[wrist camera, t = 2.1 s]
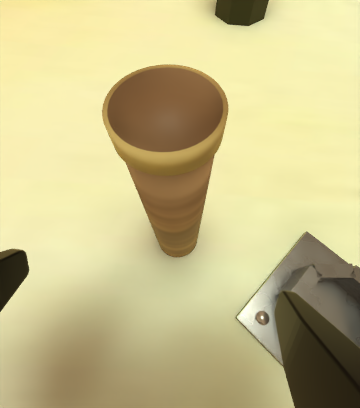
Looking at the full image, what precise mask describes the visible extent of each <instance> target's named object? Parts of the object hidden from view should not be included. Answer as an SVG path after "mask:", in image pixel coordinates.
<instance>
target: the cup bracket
mask: <svg viewBox="0 0 360 408" xmlns="http://www.w3.org/2000/svg"><path fill="white" fill-rule="evenodd" d="M283 290H285V291H292V292H295V293H297V294H298V295H299V296H300V297H301V298H303V299H304V300H305V301H306V302H307V303H308V304H310V305H311V306H312V307H313V308H314V309H315V310H317V311H318V312H319V313H320V314H321V315H322V316H324V317H325V318H326V319H327V320H328V321H329V322H330V323H332V324H333V325H334V326H335V327H336V328H337V329H339V330H340V331H341V332H342V333H343V334H344V335H346V336H347V337H348V338H349V339H350V340H351V341H353V342H354V343H355V344H356V345H357V346H358V347H360V268H359V267H358V266H357V265H356V266H352V264H348V263H347V262H346V261H344V260H343V259H342V258H340V257H339V256H338V255H337V254H335V253H334V252H333V251H331V250H330V249H329V248H328V247H326V246H325V245H324V244H322V243H321V242H320V241H319V240H317V239H316V238H315V237H313V236H312V235H311V234H310V233H308V232H305V233H304V234H303V235H302V237H301V238H300V239H299V240H298V242H297V243H296V244H295V245H294V246H293V248H292V249H291V250H290V251H289V253H288V254H287V255H286V256H285V257H284V259H283V260H282V261H281V262H280V264H279V265H278V266H277V267H276V269H275V270H274V271H273V272H272V273H271V275H270V276H269V277H268V278H267V280H266V281H265V282H264V283H263V284H262V286H261V287H260V288H259V289H258V291H257V292H256V293H255V294H254V296H253V297H252V298H251V299H250V300H249V302H248V303H247V304H246V305H245V307H244V308H243V309H242V310H241V311H240V313H239V314H238V315H237V316H236V318H237V319H238V320H239V321H240V322H241V323H242V324H243V325H244V326H245V327H246V328H247V329H248V331H249V332H250V333H251V334H252V335H253V336H254V337H255V338H256V339H257V340H258V341H259V342H260V343H261V344H262V345H263V346H264V347H265V348H266V349H267V350H268V351H269V352H270V353H271V354H272V355H273V356H274V357H275V358H276V359H277V360H278V361H279V362H280V363H281V364H282V366H283V361H282V356H281V350H280V344H279V339H278V333H277V327H276V322H275V316H274V311H275V307H276V304H277V300H278V297H279V294H280V292H281V291H283ZM283 367H284V366H283Z"/></svg>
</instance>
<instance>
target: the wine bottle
mask: <svg viewBox="0 0 360 408" xmlns="http://www.w3.org/2000/svg"><path fill="white" fill-rule="evenodd" d="M268 1H269V0H217V3H216V12H215V15H216V16H217V17H219V18H220V19H221V20H223V21H224V22H226V23H227V24H233V25H246V26H249V25H251V24H253V23H255V22H258V21H260V20H262V19H264V15H265V12H266V8H267V5H268Z"/></svg>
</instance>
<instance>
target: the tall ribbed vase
mask: <svg viewBox="0 0 360 408" xmlns="http://www.w3.org/2000/svg"><path fill="white" fill-rule="evenodd" d="M227 115H228V102H227V98H226V95H225V93H224V91H223V90H222V88H221V87H220V86H219V84H218V83H217V82H216V81H215V80H214V79H212V78H211V77H210V76H208V75H206V74H205V73H203V72H201V71H198V70H196V69H193V68H190V67H186V66H180V65H156V66H150V67H146V68H143V69H140V70H137V71H135V72H132V73H131V74H129V75H127V76H125V77H124V78H122V79H121V80H120V81H119V82H117V83H116V84H115V85H114V86H113V87H112V89H111V90H110V91H109V93H108V94H107V96H106V98H105V101H104V104H103V110H102V116H103V121H104V125H105V127H106V129H107V132H108V134H109V136H110V138H111V141H112V143H113V145H114V147H115V150H116V152H117V153H118V155H119V156H120V157H121V158H122V159H123V161H125V162H126V165H127V167H128V170H129V172H130V174H131V177H132V179H133V182H134V184H135V186H136V189H137V191H138V194H139V196H140V199H141V201H142V203H143V206H144V208H145V211H146V213H147V216H148V218H149V220H150V223H151V225H152V228H153V230H154V232H155V235H156V237H157V240H158V242H159V245H160V247H161V248H162V250H163V251H164V252H165V253H166V254H168V255H170V256H173V257H182V256H185V255H187V254H189V253H190V252H191V251H192V250H193V249H194V247H195V245H196V243H197V238H198V233H199V228H200V223H201V218H202V213H203V208H204V203H205V199H206V194H207V189H208V184H209V179H210V174H211V169H212V164H213V159H214V154H215V153H216V152H217V150H218V148H219V146H220V144H221V141H222V138H223V133H224V129H225V125H226V120H227Z"/></svg>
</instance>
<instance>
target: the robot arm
mask: <svg viewBox="0 0 360 408" xmlns="http://www.w3.org/2000/svg"><path fill="white" fill-rule="evenodd" d="M28 272H29V266H28V260H27V255H26V252H25V251H23V250H19V249H9V250H6V251H2V252H0V312H1V310H2V309H3V308H4V306H5V305H6V304H7V302H8V301H9V300H10V298H11V297H12V296H13V294H14V293H15V292H16V290H17V289H18V287H19V286H20V285H21V283H22V282H23V281H24V279H25V278H26V277H27V275H28ZM274 316H275V322H276V327H277V333H278V339H279V344H280V350H281V356H282V361H283V366H284V370H285V374H286V378H287V381H288V385H289V388H290V392H291V396H292V399H293V403H294V406H295V408H360V347H358V346H357V345H356V344H355V343H354V342H353V341H351V340H350V339H349V338H348V337H347V336H346V335H344V334H343V333H342V332H341V331H340V330H339V329H337V328H336V327H335V326H334V325H333V324H332V323H330V322H329V321H328V320H327V319H326V318H325V317H324V316H322V315H321V314H320V313H319V312H318V311H317V310H315V309H314V308H313V307H312V306H311V305H310V304H308V303H307V302H306V301H305V300H304V299H303V298H301V297H300V296H299V295H298V294H297V293H295V292H292V291H285V290H283V291H281V292H280V294H279V297H278V300H277V304H276V307H275V311H274Z"/></svg>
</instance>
